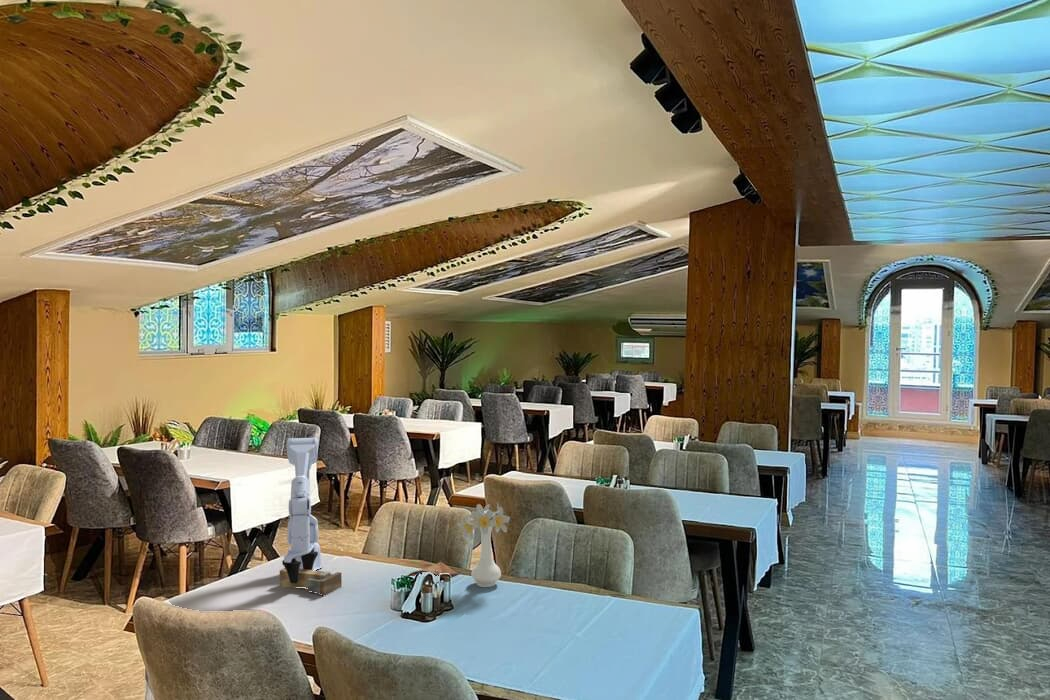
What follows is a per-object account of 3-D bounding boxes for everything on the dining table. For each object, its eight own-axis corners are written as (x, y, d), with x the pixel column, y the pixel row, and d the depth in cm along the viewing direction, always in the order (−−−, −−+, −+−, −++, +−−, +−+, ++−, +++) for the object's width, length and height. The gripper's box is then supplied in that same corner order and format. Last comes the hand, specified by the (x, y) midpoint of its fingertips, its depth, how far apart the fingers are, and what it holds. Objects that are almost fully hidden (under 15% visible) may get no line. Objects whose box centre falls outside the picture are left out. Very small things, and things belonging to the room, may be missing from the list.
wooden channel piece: (306, 593, 247) (306, 578, 247) (324, 584, 255) (324, 570, 255) (324, 596, 244) (323, 581, 244) (341, 587, 253) (341, 572, 253)
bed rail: (279, 586, 254) (279, 570, 253) (286, 582, 257) (286, 567, 257) (324, 591, 249) (324, 575, 248) (330, 588, 252) (330, 572, 252)
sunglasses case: (426, 589, 250) (417, 568, 252) (411, 597, 254) (402, 577, 255) (460, 573, 266) (452, 554, 267) (446, 581, 269) (437, 562, 271)
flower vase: (452, 590, 250) (451, 509, 249) (484, 573, 266) (484, 498, 265) (487, 597, 243) (487, 514, 242) (518, 580, 259) (518, 502, 258)
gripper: (302, 529, 261) (302, 570, 261) (275, 540, 247) (275, 585, 247) (321, 530, 259) (321, 572, 259) (295, 542, 245) (295, 587, 245)
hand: (300, 579), depth 253 cm, fingers open, 7 cm apart
